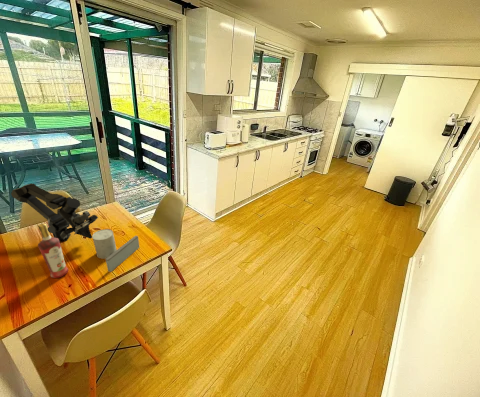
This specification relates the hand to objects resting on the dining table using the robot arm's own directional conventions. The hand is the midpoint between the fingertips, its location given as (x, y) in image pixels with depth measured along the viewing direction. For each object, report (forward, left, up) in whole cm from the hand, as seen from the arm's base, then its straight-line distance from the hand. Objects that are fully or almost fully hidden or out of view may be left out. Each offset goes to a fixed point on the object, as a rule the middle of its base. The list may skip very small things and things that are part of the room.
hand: (91, 238), depth 122 cm
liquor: (-10, -18, -7) cm, 21 cm away
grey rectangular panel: (+18, -11, -7) cm, 22 cm away
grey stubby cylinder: (+8, -5, -7) cm, 12 cm away
